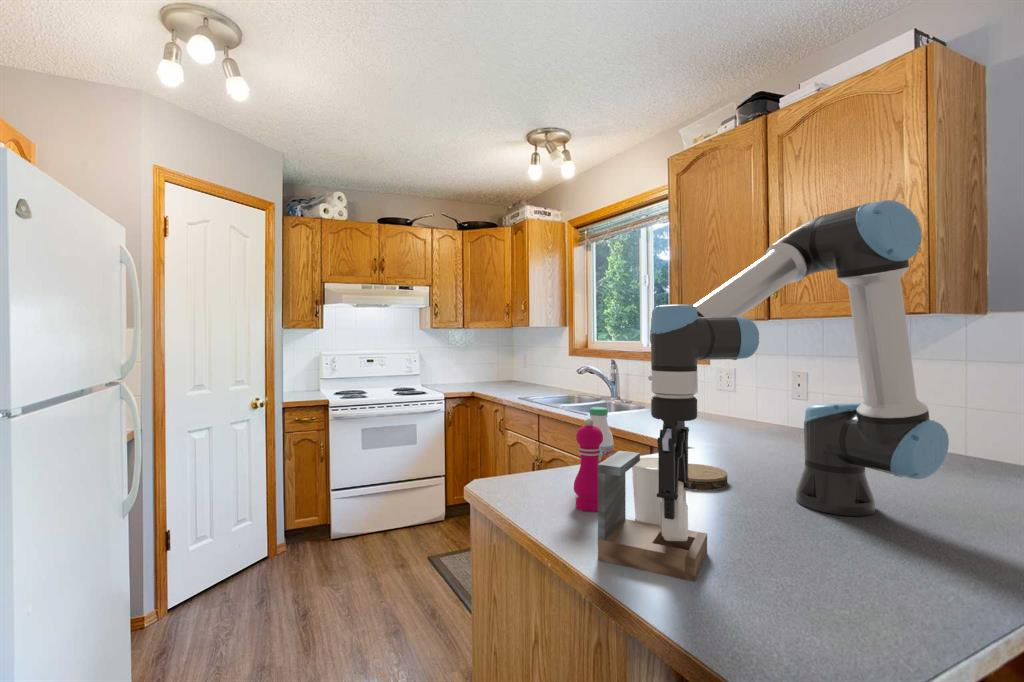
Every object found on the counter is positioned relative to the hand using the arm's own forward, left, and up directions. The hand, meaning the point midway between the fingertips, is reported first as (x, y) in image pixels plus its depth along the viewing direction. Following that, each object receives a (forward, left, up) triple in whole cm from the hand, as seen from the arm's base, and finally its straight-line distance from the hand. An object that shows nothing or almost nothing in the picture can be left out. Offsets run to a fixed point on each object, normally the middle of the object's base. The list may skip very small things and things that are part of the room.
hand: (674, 530), depth 88 cm
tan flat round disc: (+6, -52, -6) cm, 53 cm away
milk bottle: (+27, -36, -5) cm, 45 cm away
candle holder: (+8, -18, -5) cm, 20 cm away
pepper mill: (+23, -19, -5) cm, 30 cm away
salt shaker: (0, 0, -1) cm, 1 cm away
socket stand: (+4, 0, -5) cm, 6 cm away
